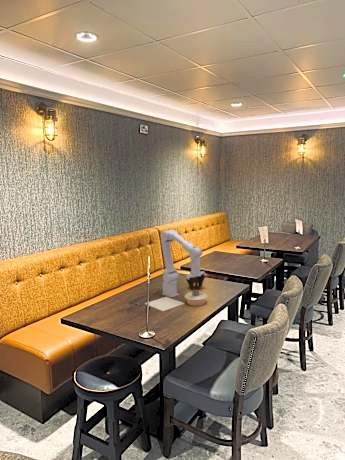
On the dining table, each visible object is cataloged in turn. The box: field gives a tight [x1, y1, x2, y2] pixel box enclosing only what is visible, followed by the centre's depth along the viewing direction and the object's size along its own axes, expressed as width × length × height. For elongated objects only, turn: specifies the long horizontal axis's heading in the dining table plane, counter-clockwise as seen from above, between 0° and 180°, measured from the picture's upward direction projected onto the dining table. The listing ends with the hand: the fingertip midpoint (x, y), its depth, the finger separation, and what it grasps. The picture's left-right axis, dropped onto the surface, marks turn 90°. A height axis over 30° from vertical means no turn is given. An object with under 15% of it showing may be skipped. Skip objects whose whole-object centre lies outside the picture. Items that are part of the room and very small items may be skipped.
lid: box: [184, 289, 208, 300], centre depth 228 cm, size 14×14×4 cm
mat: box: [144, 296, 186, 312], centre depth 228 cm, size 18×18×1 cm
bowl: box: [186, 298, 206, 307], centre depth 228 cm, size 11×11×4 cm
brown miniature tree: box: [189, 270, 202, 290], centre depth 258 cm, size 11×11×15 cm
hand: (195, 288), depth 227 cm, fingers open, 7 cm apart
